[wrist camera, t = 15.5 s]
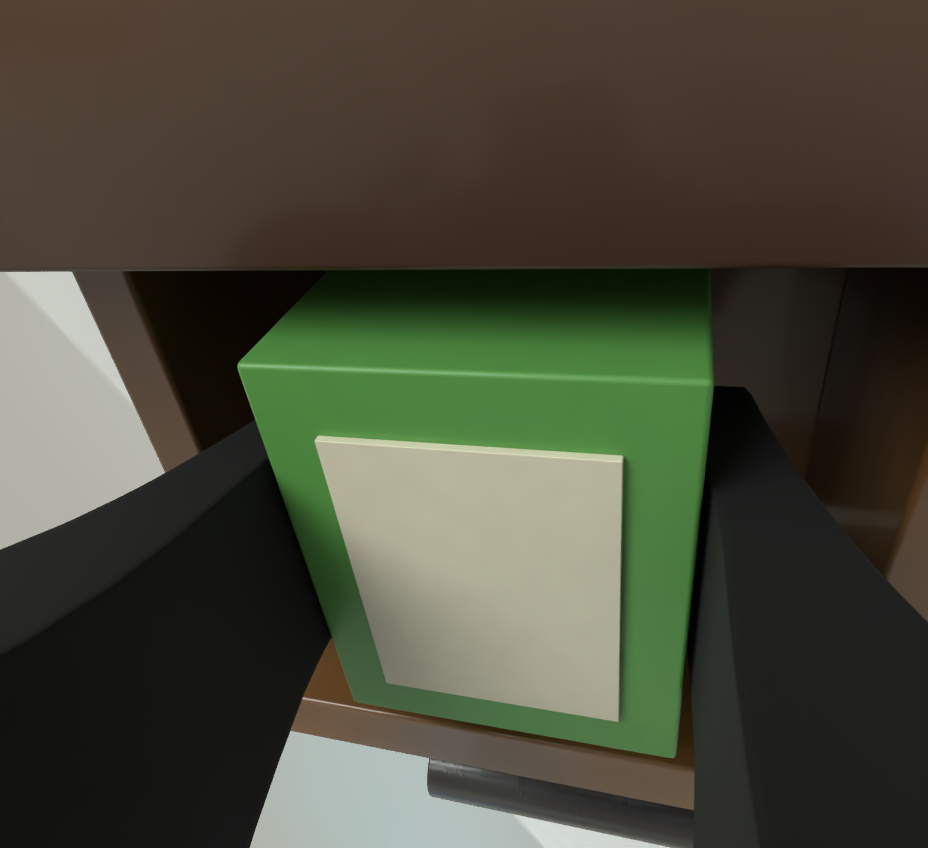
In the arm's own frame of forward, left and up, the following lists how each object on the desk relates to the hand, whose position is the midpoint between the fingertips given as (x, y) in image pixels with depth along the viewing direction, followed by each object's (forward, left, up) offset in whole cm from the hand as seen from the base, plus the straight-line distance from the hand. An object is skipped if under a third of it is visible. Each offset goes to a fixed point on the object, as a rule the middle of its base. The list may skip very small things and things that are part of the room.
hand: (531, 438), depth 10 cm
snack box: (0, 0, -1) cm, 1 cm away
